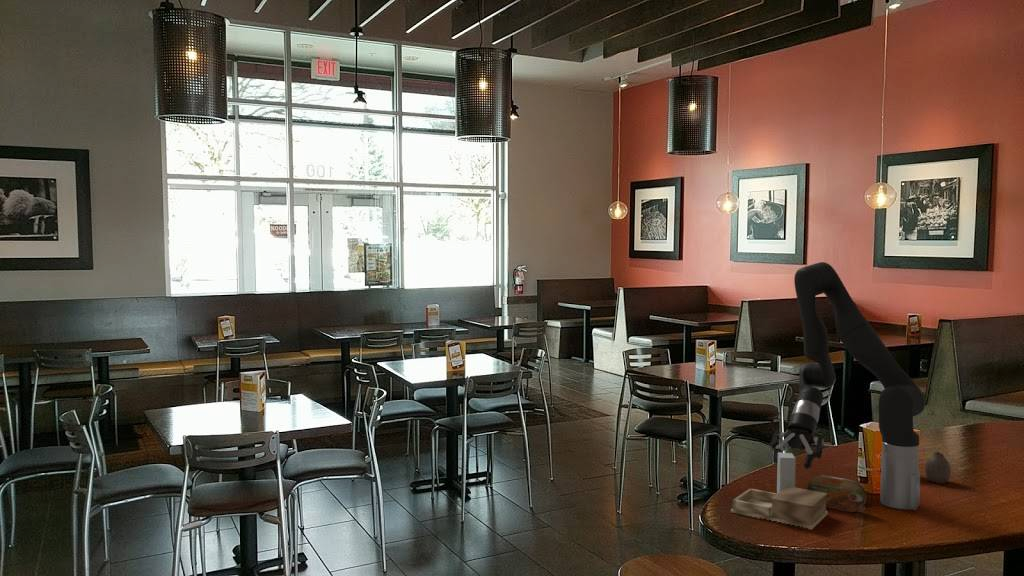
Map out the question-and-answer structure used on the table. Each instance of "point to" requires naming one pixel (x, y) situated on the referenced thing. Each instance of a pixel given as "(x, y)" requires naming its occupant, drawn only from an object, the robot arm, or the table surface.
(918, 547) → the table surface
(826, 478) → the tin
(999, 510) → the table surface
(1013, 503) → the table surface
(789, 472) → the skincare box
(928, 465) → the vase
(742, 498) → the organizer tray
